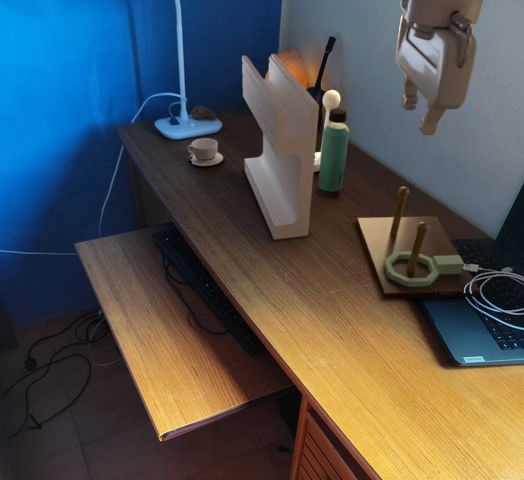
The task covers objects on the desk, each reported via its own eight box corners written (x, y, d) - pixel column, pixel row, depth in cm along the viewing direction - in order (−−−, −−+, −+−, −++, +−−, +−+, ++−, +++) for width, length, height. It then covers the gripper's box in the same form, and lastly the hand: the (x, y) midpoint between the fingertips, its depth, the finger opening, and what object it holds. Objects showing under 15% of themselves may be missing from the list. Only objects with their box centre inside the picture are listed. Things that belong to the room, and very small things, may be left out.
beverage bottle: (339, 199, 119) (350, 116, 104) (314, 195, 120) (321, 113, 106) (344, 187, 123) (355, 106, 109) (319, 183, 124) (327, 103, 110)
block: (307, 235, 107) (319, 105, 87) (273, 239, 106) (277, 108, 86) (272, 168, 131) (275, 53, 110) (244, 171, 129) (241, 55, 109)
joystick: (339, 176, 128) (349, 97, 113) (313, 179, 126) (320, 99, 112) (324, 159, 135) (332, 82, 121) (299, 162, 134) (304, 85, 119)
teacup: (226, 153, 137) (225, 137, 134) (219, 168, 130) (218, 152, 127) (193, 151, 138) (191, 135, 135) (184, 166, 131) (182, 149, 128)
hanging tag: (449, 254, 99) (453, 244, 98) (467, 285, 92) (471, 275, 90) (379, 256, 99) (381, 246, 97) (391, 287, 92) (394, 277, 90)
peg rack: (434, 221, 111) (450, 170, 102) (477, 296, 92) (501, 242, 83) (356, 223, 111) (364, 172, 102) (383, 299, 91) (396, 244, 82)
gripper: (503, 23, 51) (463, 150, 61) (443, -12, 65) (418, 96, 75) (446, 23, 50) (415, 151, 60) (398, -12, 65) (380, 96, 75)
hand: (417, 120), depth 68 cm, fingers open, 8 cm apart
